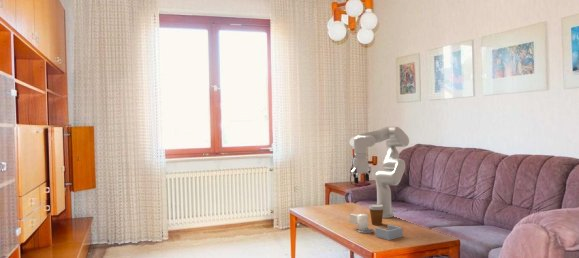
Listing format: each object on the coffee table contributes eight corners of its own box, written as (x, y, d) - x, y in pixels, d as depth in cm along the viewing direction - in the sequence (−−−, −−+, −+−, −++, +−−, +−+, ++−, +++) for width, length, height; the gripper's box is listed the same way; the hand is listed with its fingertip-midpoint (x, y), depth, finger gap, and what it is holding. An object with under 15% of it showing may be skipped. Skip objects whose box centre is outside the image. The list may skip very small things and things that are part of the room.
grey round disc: (365, 228, 269) (365, 227, 269) (377, 231, 261) (377, 230, 261) (353, 231, 264) (353, 230, 264) (365, 234, 256) (365, 233, 256)
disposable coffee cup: (373, 226, 273) (372, 207, 273) (366, 223, 283) (366, 204, 282) (387, 224, 276) (386, 206, 276) (380, 221, 285) (379, 203, 285)
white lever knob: (370, 229, 263) (370, 215, 263) (363, 231, 260) (362, 216, 259) (355, 225, 274) (354, 211, 274) (347, 227, 270) (347, 213, 270)
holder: (389, 232, 257) (388, 224, 257) (402, 236, 249) (402, 227, 249) (375, 236, 251) (375, 227, 251) (388, 240, 242) (388, 231, 242)
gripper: (365, 154, 288) (367, 179, 289) (346, 157, 278) (348, 183, 279) (374, 154, 282) (375, 180, 283) (354, 158, 272) (356, 184, 273)
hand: (361, 182), depth 281 cm, fingers open, 9 cm apart
